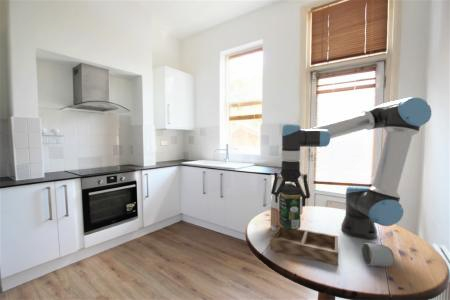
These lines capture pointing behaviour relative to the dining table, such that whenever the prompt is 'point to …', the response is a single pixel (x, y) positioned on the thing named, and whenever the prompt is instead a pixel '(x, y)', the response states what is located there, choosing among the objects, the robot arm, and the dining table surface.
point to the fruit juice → (275, 208)
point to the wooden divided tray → (306, 244)
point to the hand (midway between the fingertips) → (289, 211)
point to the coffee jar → (290, 206)
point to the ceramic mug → (377, 255)
